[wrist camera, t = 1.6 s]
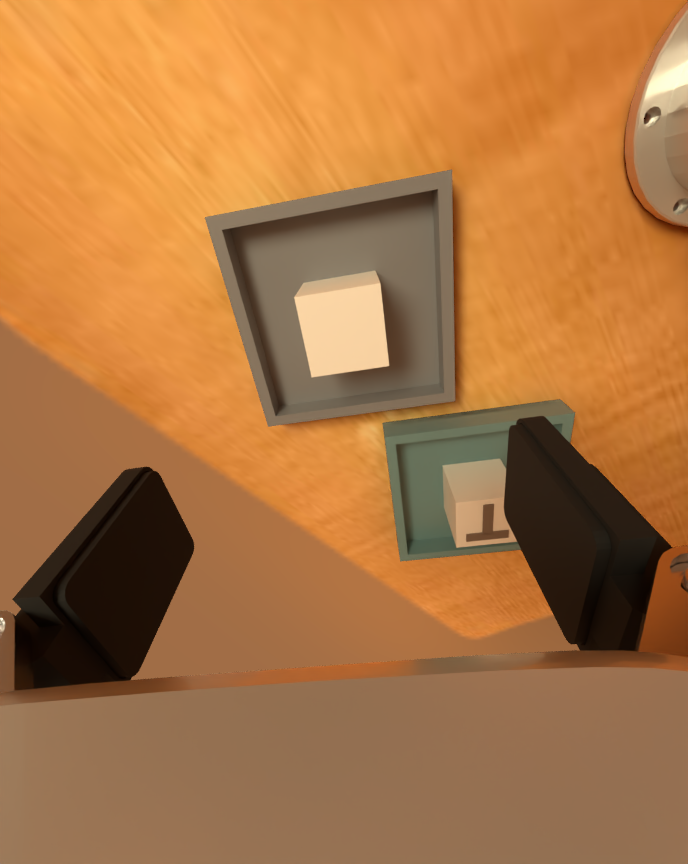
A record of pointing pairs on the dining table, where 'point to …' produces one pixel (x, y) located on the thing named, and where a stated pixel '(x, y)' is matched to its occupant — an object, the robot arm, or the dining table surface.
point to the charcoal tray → (334, 257)
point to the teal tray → (443, 445)
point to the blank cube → (343, 324)
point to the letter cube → (476, 503)
